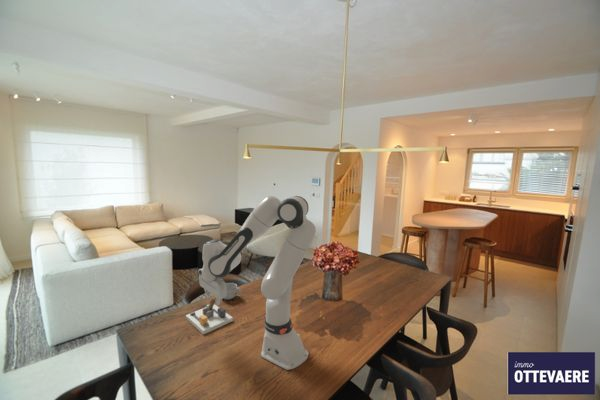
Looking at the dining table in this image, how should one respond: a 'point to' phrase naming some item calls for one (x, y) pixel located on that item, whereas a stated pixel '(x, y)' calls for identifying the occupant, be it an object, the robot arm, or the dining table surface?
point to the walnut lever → (211, 304)
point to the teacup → (231, 291)
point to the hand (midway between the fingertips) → (212, 300)
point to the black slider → (221, 312)
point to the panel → (212, 316)
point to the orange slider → (203, 320)
